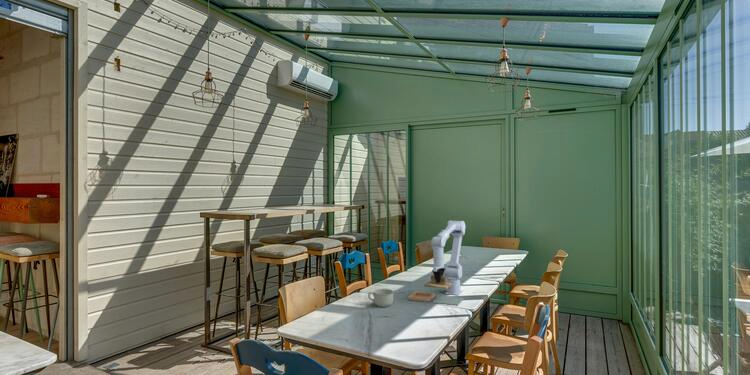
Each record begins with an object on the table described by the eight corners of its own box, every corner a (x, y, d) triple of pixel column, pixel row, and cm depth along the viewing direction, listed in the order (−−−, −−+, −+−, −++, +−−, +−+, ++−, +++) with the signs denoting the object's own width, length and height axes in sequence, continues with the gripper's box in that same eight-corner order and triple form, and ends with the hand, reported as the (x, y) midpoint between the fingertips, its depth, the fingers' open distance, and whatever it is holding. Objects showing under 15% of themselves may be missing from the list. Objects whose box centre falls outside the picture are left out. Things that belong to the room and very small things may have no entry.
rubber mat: (439, 296, 230) (439, 295, 230) (463, 299, 224) (463, 298, 224) (432, 303, 217) (432, 302, 217) (457, 305, 211) (457, 304, 211)
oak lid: (431, 281, 232) (431, 273, 232) (452, 283, 226) (452, 275, 226) (423, 286, 220) (423, 277, 220) (446, 288, 214) (446, 280, 214)
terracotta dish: (415, 294, 235) (415, 291, 235) (434, 296, 230) (434, 293, 230) (408, 299, 224) (408, 296, 224) (428, 302, 219) (428, 298, 219)
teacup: (394, 303, 219) (394, 288, 219) (393, 308, 208) (392, 293, 208) (369, 302, 220) (369, 288, 220) (367, 308, 209) (366, 293, 209)
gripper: (435, 255, 231) (436, 278, 231) (427, 259, 218) (428, 284, 218) (447, 256, 228) (447, 279, 228) (440, 260, 215) (440, 285, 215)
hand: (439, 281), depth 223 cm, fingers closed on oak lid, 3 cm apart
